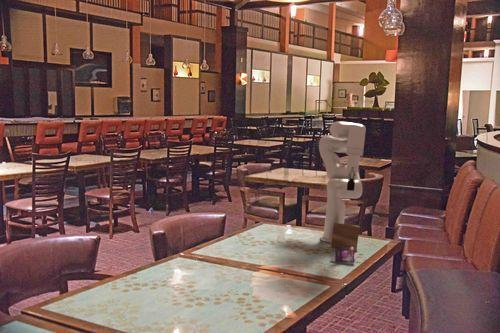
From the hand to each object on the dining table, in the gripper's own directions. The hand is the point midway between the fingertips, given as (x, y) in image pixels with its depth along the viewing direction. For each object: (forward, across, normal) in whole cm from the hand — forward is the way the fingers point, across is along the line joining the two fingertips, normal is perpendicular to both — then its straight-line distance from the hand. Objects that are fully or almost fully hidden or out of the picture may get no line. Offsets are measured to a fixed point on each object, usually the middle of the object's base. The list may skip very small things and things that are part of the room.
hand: (350, 188), depth 236 cm
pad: (+30, +14, 0) cm, 33 cm away
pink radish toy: (+30, +15, 0) cm, 33 cm away
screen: (+30, -6, 0) cm, 31 cm away
